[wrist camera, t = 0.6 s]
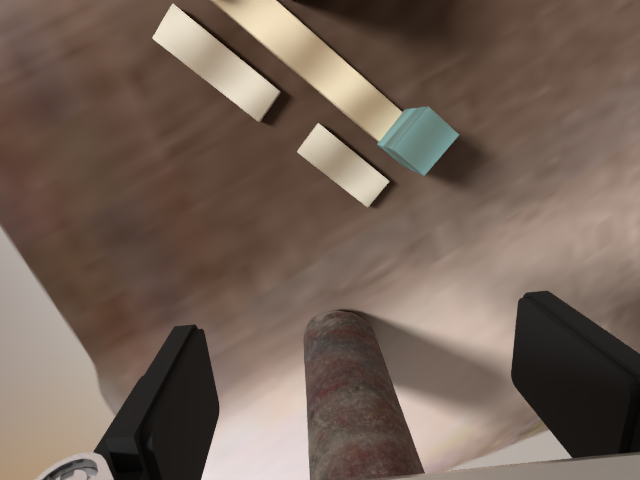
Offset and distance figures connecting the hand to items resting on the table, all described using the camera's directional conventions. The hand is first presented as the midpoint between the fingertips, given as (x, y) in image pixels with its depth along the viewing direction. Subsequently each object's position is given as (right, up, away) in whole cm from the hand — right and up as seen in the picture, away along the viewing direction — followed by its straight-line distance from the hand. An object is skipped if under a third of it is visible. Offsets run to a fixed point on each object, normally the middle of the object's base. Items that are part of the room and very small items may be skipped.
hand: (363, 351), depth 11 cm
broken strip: (-5, +14, +21) cm, 26 cm away
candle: (+1, -7, +28) cm, 29 cm away
